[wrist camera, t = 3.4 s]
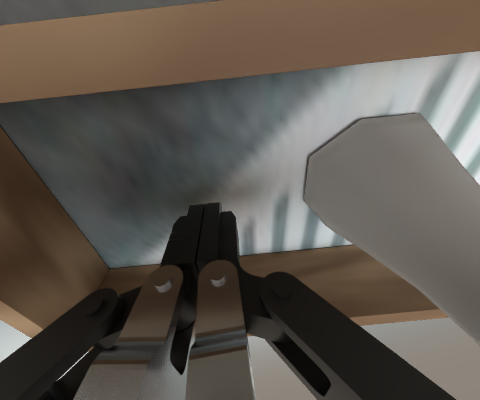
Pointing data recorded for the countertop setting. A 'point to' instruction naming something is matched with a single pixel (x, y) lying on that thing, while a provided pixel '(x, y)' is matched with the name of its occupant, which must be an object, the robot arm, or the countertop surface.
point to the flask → (405, 208)
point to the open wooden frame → (185, 71)
